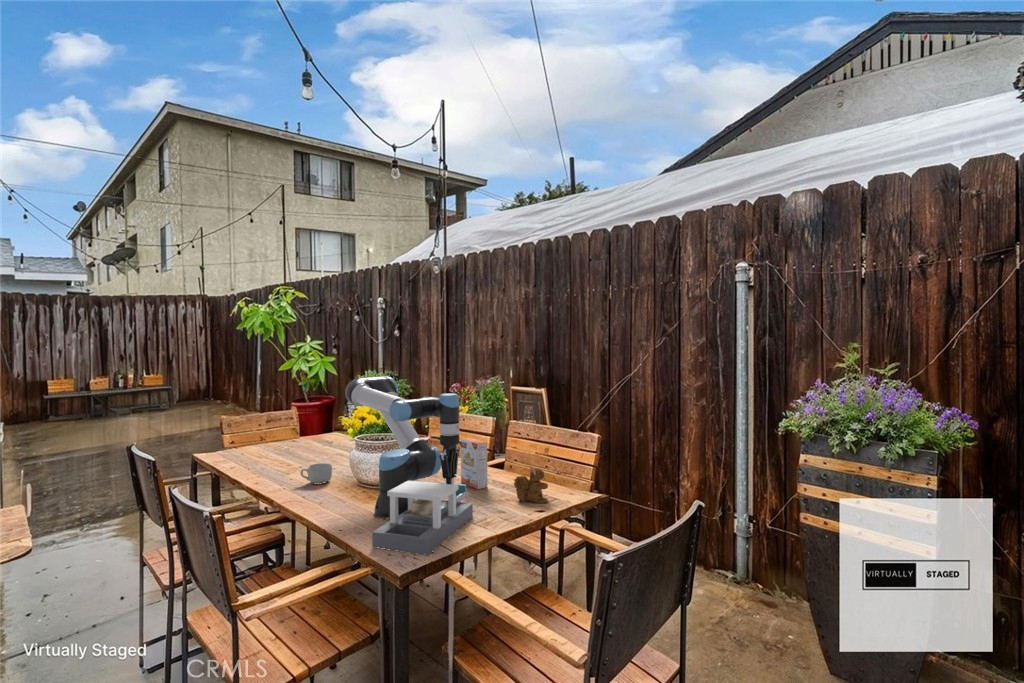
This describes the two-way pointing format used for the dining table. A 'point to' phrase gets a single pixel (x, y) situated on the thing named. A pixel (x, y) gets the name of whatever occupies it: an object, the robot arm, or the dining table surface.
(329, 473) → the teacup
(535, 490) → the stuffed squirrel
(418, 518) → the sled
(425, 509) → the beige rounded lump
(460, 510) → the tunnel track
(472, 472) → the cracker box
